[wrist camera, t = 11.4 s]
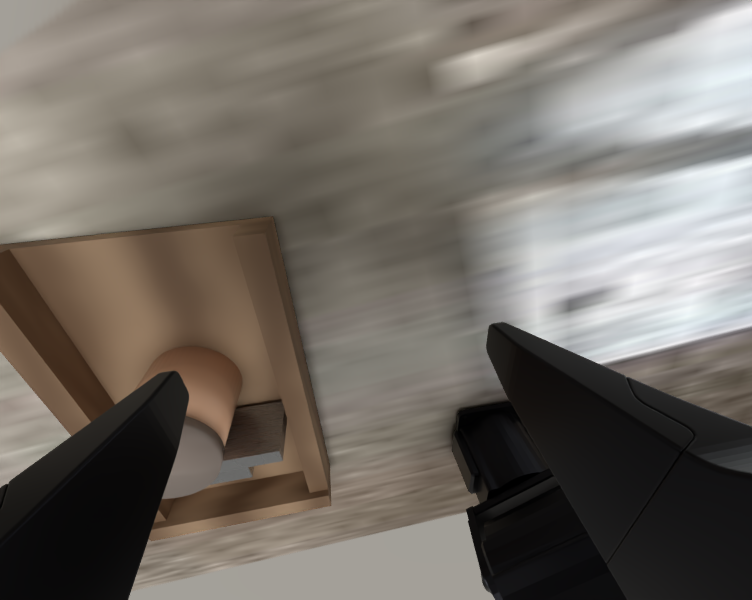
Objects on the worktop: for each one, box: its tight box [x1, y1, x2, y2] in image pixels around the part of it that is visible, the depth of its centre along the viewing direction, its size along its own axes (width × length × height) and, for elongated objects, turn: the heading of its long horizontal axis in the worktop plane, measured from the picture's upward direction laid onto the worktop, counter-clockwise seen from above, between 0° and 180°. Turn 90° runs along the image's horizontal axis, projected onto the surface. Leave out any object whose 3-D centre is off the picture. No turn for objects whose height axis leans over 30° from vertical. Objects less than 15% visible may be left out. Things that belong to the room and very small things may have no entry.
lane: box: [0, 216, 331, 541], centre depth 21 cm, size 14×23×4 cm, turn 4°
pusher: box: [210, 401, 287, 485], centre depth 22 cm, size 10×5×4 cm, turn 94°
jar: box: [134, 346, 243, 499], centre depth 18 cm, size 6×6×6 cm
